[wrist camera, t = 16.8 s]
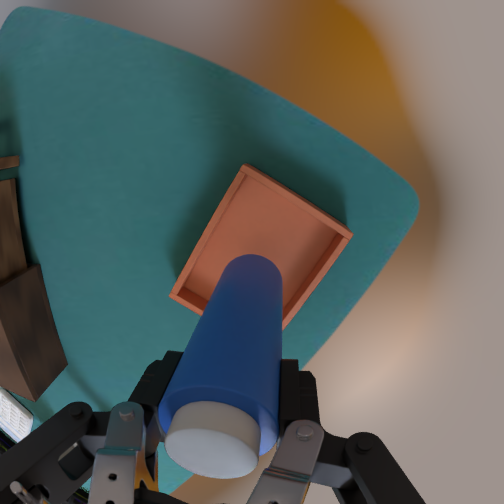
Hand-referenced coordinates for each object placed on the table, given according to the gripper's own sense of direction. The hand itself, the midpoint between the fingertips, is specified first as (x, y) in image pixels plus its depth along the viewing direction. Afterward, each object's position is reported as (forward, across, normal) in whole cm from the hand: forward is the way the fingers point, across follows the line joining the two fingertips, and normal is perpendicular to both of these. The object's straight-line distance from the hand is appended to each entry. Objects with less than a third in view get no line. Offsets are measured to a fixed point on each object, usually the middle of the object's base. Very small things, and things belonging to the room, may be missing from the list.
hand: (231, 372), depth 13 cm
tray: (+16, 0, 0) cm, 16 cm away
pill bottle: (+9, 0, 0) cm, 9 cm away
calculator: (+16, +53, +37) cm, 67 cm away
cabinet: (+16, +32, +9) cm, 37 cm away
